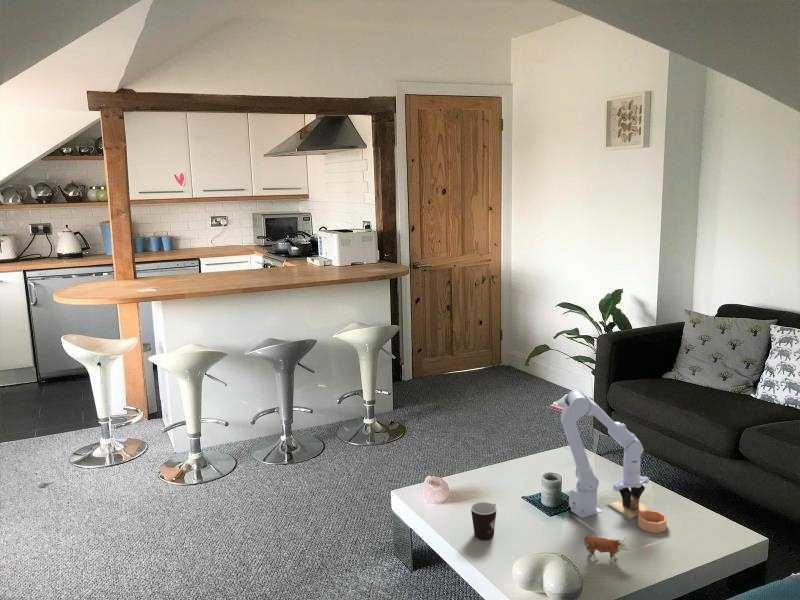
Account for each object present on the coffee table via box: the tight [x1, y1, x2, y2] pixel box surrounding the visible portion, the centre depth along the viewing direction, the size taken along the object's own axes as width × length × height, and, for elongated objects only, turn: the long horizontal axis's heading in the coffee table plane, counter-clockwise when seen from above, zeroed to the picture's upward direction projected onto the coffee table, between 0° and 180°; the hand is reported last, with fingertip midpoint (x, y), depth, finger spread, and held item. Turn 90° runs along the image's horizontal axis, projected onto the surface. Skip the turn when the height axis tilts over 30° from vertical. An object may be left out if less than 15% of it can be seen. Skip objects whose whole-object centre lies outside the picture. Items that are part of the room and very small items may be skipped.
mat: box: [603, 503, 638, 522], centre depth 242 cm, size 13×13×1 cm
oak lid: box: [607, 495, 655, 519], centre depth 241 cm, size 11×11×5 cm
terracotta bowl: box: [637, 509, 668, 534], centre depth 229 cm, size 9×9×4 cm
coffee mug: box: [470, 501, 498, 541], centre depth 228 cm, size 12×9×10 cm
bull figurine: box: [583, 535, 630, 564], centre depth 211 cm, size 4×13×8 cm, turn 66°
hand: (630, 505), depth 241 cm, fingers closed on oak lid, 3 cm apart
